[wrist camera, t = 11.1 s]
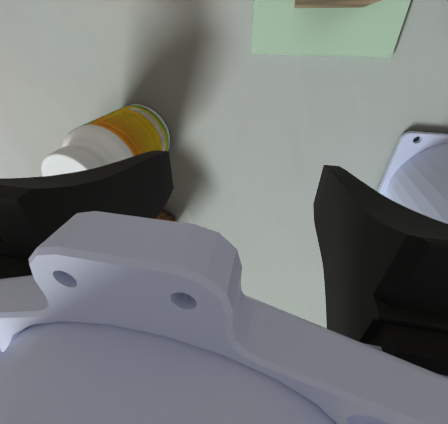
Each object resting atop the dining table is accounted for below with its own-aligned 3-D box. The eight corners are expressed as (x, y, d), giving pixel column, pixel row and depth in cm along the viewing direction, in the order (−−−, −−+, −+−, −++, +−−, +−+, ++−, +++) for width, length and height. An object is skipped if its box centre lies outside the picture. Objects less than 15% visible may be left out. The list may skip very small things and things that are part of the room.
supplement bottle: (129, 88, 21) (36, 120, 13) (182, 130, 22) (124, 182, 14) (109, 137, 24) (23, 185, 16) (156, 171, 25) (96, 232, 17)
